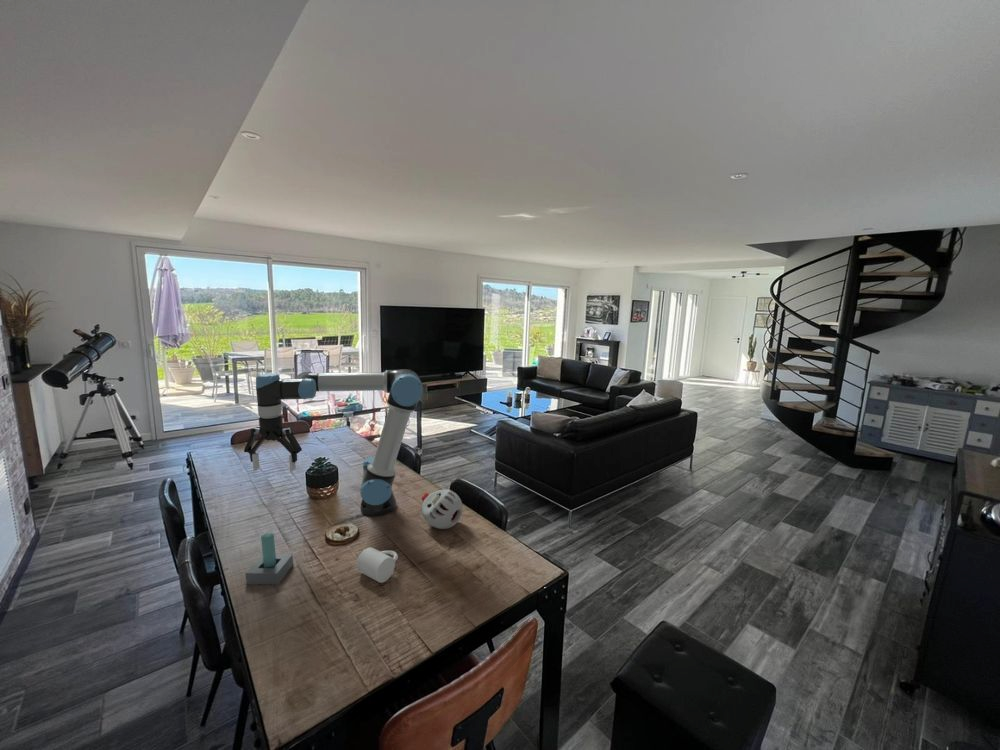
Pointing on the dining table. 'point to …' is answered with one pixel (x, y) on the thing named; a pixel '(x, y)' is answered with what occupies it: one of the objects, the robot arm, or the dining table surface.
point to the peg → (268, 550)
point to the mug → (376, 564)
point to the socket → (269, 570)
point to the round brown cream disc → (341, 533)
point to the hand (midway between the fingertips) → (274, 469)
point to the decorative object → (442, 508)
